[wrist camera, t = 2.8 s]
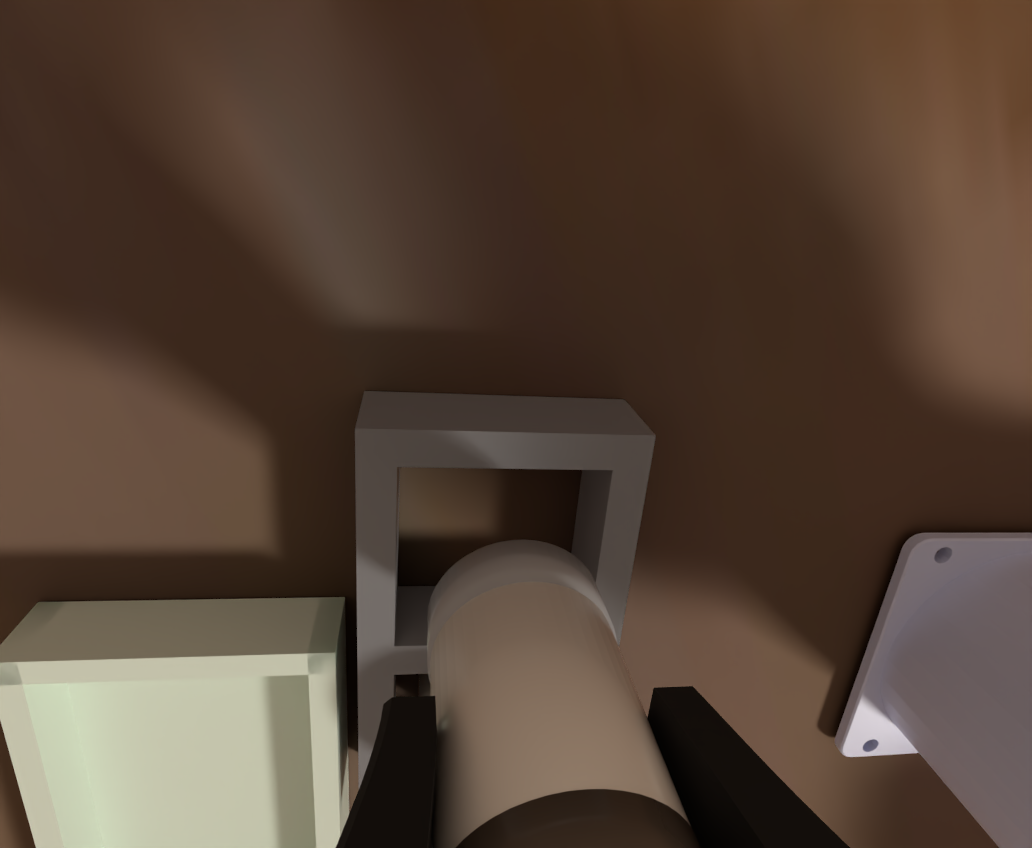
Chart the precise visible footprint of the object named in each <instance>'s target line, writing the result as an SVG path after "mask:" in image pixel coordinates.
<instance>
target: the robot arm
mask: <svg viewBox="0 0 1032 848" xmlns="http://www.w3.org/2000/svg"><path fill="white" fill-rule="evenodd" d="M938 550H939V551H938ZM937 551H938V552H937ZM936 552H937V553H936ZM648 721H649V724H650V726H651V729H652V731H653V734H654V736H655V739H656V741H657V744H658V746H659V749H660V751H661V754H662V756H663V759H664V761H665V764H666V766H667V769H668V771H669V773H670V776H671V778H672V781H673V783H674V786H675V788H676V791H677V793H678V796H679V798H680V801H681V803H682V806H683V808H684V811H685V813H686V816H687V818H688V821H689V823H690V826H691V828H692V829H693V830H694V832H695V834H696V836H697V839H698V841H699V844H700V846H701V848H850V847H849V846H848V845H847V844H846V843H845V842H844V841H842V840H841V839H840V838H839V837H838V836H837V835H836V834H835V833H834V832H833V831H832V830H831V829H830V828H829V827H828V826H827V825H826V824H825V823H824V822H823V821H822V820H821V819H820V818H819V817H818V816H817V815H816V814H815V813H814V812H813V811H812V810H811V809H810V808H809V807H808V806H807V805H806V804H805V803H804V802H803V801H802V800H801V799H800V798H799V797H798V796H797V795H796V794H795V793H794V792H793V791H792V790H791V789H790V788H789V787H788V786H787V785H786V784H785V783H784V782H783V781H782V780H781V779H780V778H779V777H778V776H777V775H776V774H775V773H774V772H773V771H772V770H771V769H770V768H769V767H768V766H767V765H766V764H765V762H764V761H763V760H762V759H761V758H760V757H759V756H758V755H757V754H756V753H755V752H754V751H753V750H752V749H751V748H750V747H749V746H748V745H747V744H746V742H745V741H744V740H743V739H742V738H741V737H740V736H739V735H738V734H737V733H736V732H735V731H734V730H733V729H732V728H731V727H730V725H729V724H728V723H727V722H726V721H725V720H724V719H723V718H722V717H721V716H720V715H719V714H718V713H717V712H716V711H715V709H714V708H713V707H712V706H711V705H710V704H709V703H708V702H707V701H706V700H705V699H704V698H703V697H702V696H701V695H700V694H699V693H698V692H697V690H696V689H695V688H694V687H693V686H689V687H662V688H654V689H653V694H652V699H651V704H650V709H649V714H648ZM835 744H836V746H837V748H838V749H839V751H840V752H841V753H842V754H843V755H844V756H847V757H862V756H878V755H894V754H910V753H919V754H920V755H921V756H922V757H923V758H924V759H925V761H926V762H927V763H928V764H929V765H930V767H931V768H932V769H933V770H934V771H935V772H936V774H937V775H938V776H939V777H940V778H941V780H942V781H943V782H944V783H945V784H946V785H947V787H948V788H949V789H950V790H951V791H952V793H953V794H954V795H955V796H956V797H957V798H958V800H959V801H960V802H961V803H962V804H963V806H964V807H965V808H966V809H967V810H968V811H969V813H970V814H971V815H972V816H973V817H974V819H975V820H976V821H977V822H978V823H979V824H980V826H981V827H982V828H983V829H984V830H985V832H986V833H987V834H988V835H989V836H990V837H991V839H992V840H993V841H994V842H995V843H996V845H997V846H998V847H999V848H1032V533H920V534H916V535H914V536H912V537H910V538H909V539H908V540H907V541H906V542H905V543H904V545H903V547H902V549H901V552H900V555H899V558H898V561H897V564H896V567H895V569H894V572H893V575H892V578H891V581H890V584H889V586H888V589H887V592H886V595H885V598H884V601H883V603H882V606H881V609H880V612H879V615H878V618H877V620H876V623H875V626H874V629H873V632H872V635H871V637H870V640H869V643H868V646H867V649H866V652H865V655H864V657H863V660H862V663H861V666H860V669H859V672H858V674H857V677H856V680H855V683H854V686H853V689H852V691H851V694H850V697H849V700H848V703H847V706H846V708H845V711H844V714H843V717H842V720H841V723H840V725H839V728H838V731H837V734H836V737H835ZM436 756H437V723H436V701H435V696H416V697H392V698H390V699H389V700H388V701H387V702H385V703H384V704H383V709H382V715H381V720H380V725H379V729H378V732H377V736H376V740H375V743H374V747H373V750H372V753H371V756H370V760H369V763H368V765H367V768H366V771H365V774H364V777H363V780H362V783H361V785H360V788H359V791H358V794H357V796H356V799H355V801H354V804H353V806H352V809H351V811H350V814H349V816H348V818H347V821H346V823H345V826H344V828H343V831H342V833H341V836H340V838H339V841H338V843H337V846H336V848H432V827H433V812H434V797H435V776H436Z"/></svg>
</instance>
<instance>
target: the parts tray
mask: <svg viewBox="0 0 1032 848" xmlns="http://www.w3.org/2000/svg"><path fill="white" fill-rule="evenodd" d="M0 721H1V725H2V728H3V732H4V735H5V739H6V742H7V746H8V750H9V753H10V757H11V760H12V764H13V767H14V771H15V775H16V778H17V782H18V785H19V789H20V792H21V796H22V800H23V803H24V807H25V810H26V814H27V817H28V821H29V825H30V828H31V832H32V835H33V839H34V843H35V846H36V848H336V846H337V843H338V841H339V838H340V836H341V833H342V831H343V828H344V826H345V823H346V821H347V818H348V816H349V780H348V727H347V674H346V621H345V597H315V598H254V599H193V600H132V601H71V602H37V604H36V605H35V606H34V607H33V608H32V609H31V610H30V612H29V613H28V614H27V615H26V616H25V617H24V618H23V620H22V621H21V622H20V623H19V624H18V625H17V626H16V628H15V629H14V630H13V631H12V632H11V633H10V634H9V636H8V637H7V638H6V639H5V640H4V641H3V642H2V644H1V645H0Z"/></svg>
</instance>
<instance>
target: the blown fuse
mask: <svg viewBox="0 0 1032 848" xmlns="http://www.w3.org/2000/svg"><path fill="white" fill-rule="evenodd" d="M427 667H428V676H429V680H430V684H431V696H435V701H436V723H437V756H436V776H435V797H434V812H433V827H432V848H701V846H700V844H699V841H698V839H697V836H696V834H695V832H694V830H693V829H692V828H691V826H690V823H689V821H688V818H687V816H686V813H685V811H684V808H683V806H682V803H681V801H680V798H679V796H678V793H677V791H676V788H675V786H674V783H673V781H672V778H671V776H670V773H669V771H668V769H667V766H666V764H665V761H664V759H663V756H662V754H661V751H660V749H659V746H658V744H657V741H656V739H655V736H654V734H653V731H652V729H651V726H650V724H649V721H648V719H647V716H646V714H645V711H644V709H643V706H642V704H641V701H640V699H639V696H638V694H637V691H636V689H635V686H634V684H633V681H632V679H631V677H630V674H629V672H628V669H627V667H626V664H625V662H624V659H623V657H622V654H621V652H620V649H619V647H618V644H617V641H616V634H615V630H614V627H613V624H612V622H611V619H610V617H609V614H608V612H607V609H606V607H605V605H604V602H603V600H602V597H601V595H600V592H599V590H598V587H597V585H596V583H595V580H594V578H593V576H592V574H591V573H590V571H589V570H588V568H587V567H586V566H585V565H584V564H583V563H582V562H581V561H580V560H579V559H578V558H577V557H576V556H574V555H573V554H571V553H570V552H568V551H566V550H565V549H562V548H560V547H558V546H556V545H553V544H549V543H546V542H541V541H536V540H508V541H503V542H497V543H494V544H491V545H487V546H485V547H482V548H480V549H477V550H475V551H473V552H472V553H470V554H468V555H466V556H465V557H463V558H462V559H460V560H459V561H458V562H456V563H455V564H454V565H453V566H452V567H451V568H450V569H449V570H448V571H447V572H446V573H445V574H444V575H443V577H442V578H441V579H440V581H439V582H438V584H437V585H436V587H435V589H434V591H433V593H432V596H431V598H430V602H429V605H428V613H427Z"/></svg>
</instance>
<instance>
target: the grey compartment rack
mask: <svg viewBox="0 0 1032 848" xmlns="http://www.w3.org/2000/svg"><path fill="white" fill-rule="evenodd" d="M655 438H656V435H655V434H654V433H653V432H652V431H651V429H650V428H649V427H648V426H647V425H646V424H645V422H644V421H643V420H642V419H641V418H640V417H639V416H638V414H637V413H636V412H635V411H634V410H633V409H632V407H631V406H630V405H629V404H628V403H627V402H626V401H625V399H598V398H567V397H537V396H506V395H476V394H446V393H415V392H385V391H364V394H363V398H362V402H361V406H360V410H359V414H358V418H357V422H356V426H355V486H356V577H357V669H358V760H359V788H360V785H361V783H362V780H363V777H364V774H365V771H366V768H367V765H368V763H369V760H370V756H371V753H372V750H373V747H374V743H375V740H376V736H377V732H378V729H379V725H380V720H381V715H382V709H383V704H384V703H385V702H387V701H388V700H389V699H390V698H392V697H396V675H402V674H419V696H431V684H430V680H429V676H428V667H427V613H428V605H429V602H430V598H431V596H432V593H433V591H434V589H435V587H436V586H398V540H399V481H400V467H423V468H491V469H559V470H582V475H581V483H580V490H579V498H578V506H577V513H576V521H575V528H574V536H573V543H572V551H571V554H573V555H574V556H576V557H577V558H578V559H579V560H580V561H581V562H582V563H583V564H584V565H585V566H586V567H587V568H588V570H589V571H590V573H591V574H592V576H593V578H594V580H595V583H596V585H597V587H598V590H599V592H600V595H601V597H602V600H603V602H604V605H605V607H606V609H607V612H608V614H609V617H610V619H611V622H612V624H613V627H614V630H615V634H616V641H617V644H618V647H619V643H620V637H621V632H622V626H623V620H624V615H625V609H626V603H627V598H628V592H629V586H630V580H631V575H632V569H633V563H634V558H635V552H636V546H637V540H638V535H639V529H640V523H641V518H642V512H643V506H644V501H645V495H646V489H647V483H648V478H649V472H650V466H651V461H652V455H653V449H654V444H655Z"/></svg>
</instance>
